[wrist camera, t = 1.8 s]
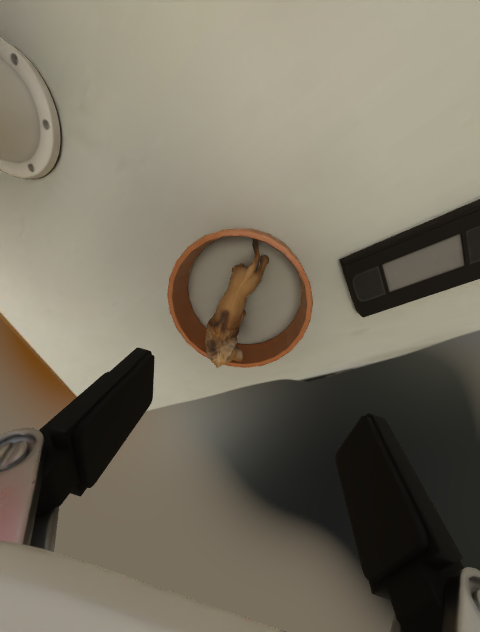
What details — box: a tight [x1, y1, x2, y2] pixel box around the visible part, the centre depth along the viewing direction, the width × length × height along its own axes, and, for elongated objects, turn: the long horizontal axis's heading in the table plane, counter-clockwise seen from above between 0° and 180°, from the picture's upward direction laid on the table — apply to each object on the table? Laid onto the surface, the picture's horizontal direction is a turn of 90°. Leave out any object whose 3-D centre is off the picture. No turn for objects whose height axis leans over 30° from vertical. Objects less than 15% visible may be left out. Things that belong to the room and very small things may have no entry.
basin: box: [167, 229, 313, 368], centre depth 27 cm, size 17×17×5 cm
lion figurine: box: [205, 238, 269, 368], centre depth 25 cm, size 15×5×9 cm, turn 167°
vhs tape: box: [339, 200, 480, 317], centre depth 23 cm, size 8×14×2 cm, turn 117°
